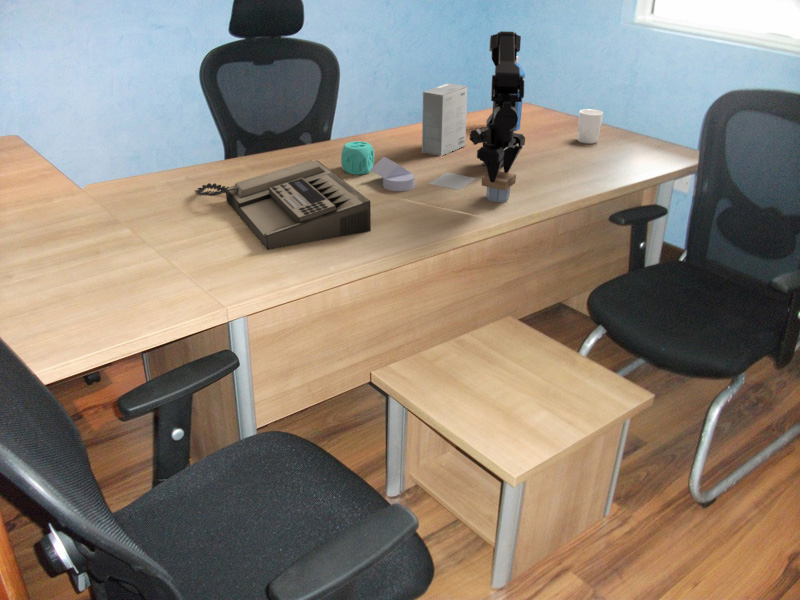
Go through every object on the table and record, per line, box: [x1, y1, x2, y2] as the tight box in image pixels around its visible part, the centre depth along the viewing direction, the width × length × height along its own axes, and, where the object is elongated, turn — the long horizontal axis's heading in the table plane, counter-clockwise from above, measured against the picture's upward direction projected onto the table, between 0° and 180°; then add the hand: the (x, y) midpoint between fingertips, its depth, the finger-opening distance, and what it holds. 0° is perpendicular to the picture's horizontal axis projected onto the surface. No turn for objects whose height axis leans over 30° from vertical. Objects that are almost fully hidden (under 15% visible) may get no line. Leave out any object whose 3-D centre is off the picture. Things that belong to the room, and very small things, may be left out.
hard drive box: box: [421, 82, 468, 157], centre depth 241 cm, size 16×8×20 cm, turn 144°
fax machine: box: [194, 159, 372, 251], centre depth 194 cm, size 45×34×10 cm
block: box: [481, 170, 517, 190], centre depth 203 cm, size 7×7×2 cm
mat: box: [427, 172, 478, 191], centre depth 218 cm, size 12×10×1 cm
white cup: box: [577, 108, 604, 145], centre depth 255 cm, size 8×8×10 cm
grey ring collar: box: [485, 186, 511, 203], centre depth 205 cm, size 6×6×4 cm
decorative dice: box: [340, 140, 375, 176], centre depth 224 cm, size 8×8×8 cm
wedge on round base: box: [370, 156, 415, 192], centre depth 214 cm, size 9×7×13 cm
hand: (499, 177), depth 203 cm, fingers open, 9 cm apart
